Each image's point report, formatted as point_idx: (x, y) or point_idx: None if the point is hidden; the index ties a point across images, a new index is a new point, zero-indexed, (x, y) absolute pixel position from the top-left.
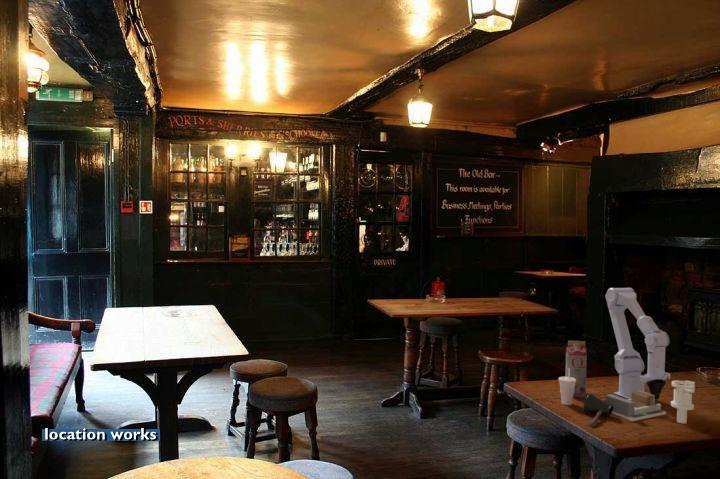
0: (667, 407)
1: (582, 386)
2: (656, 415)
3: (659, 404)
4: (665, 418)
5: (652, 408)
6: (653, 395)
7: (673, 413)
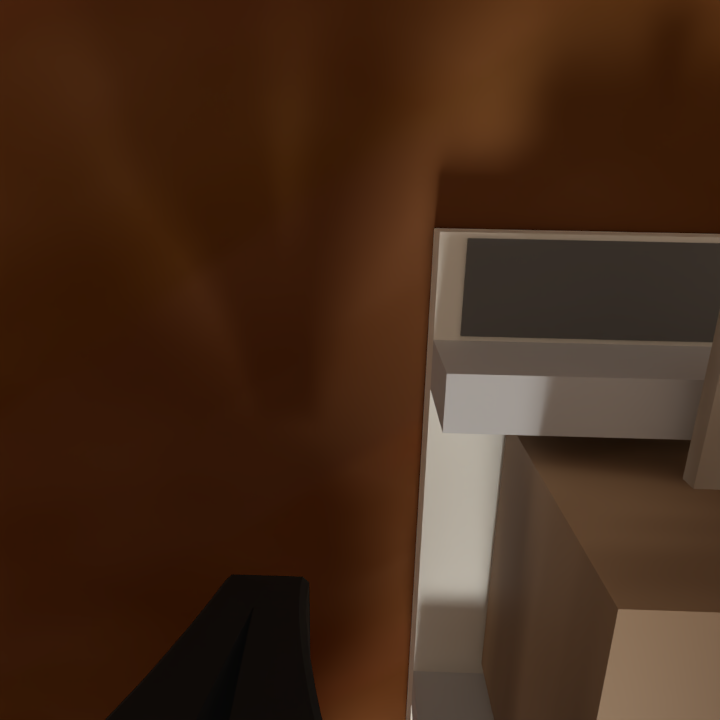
0: (82, 433)
1: None
2: (702, 235)
3: (481, 386)
4: (671, 71)
5: None
6: (684, 615)
7: (254, 192)
